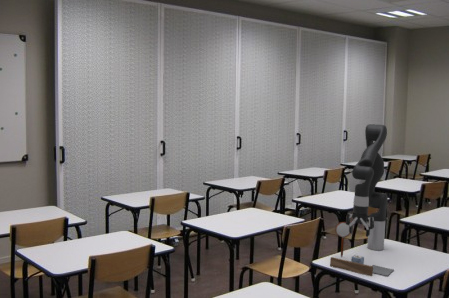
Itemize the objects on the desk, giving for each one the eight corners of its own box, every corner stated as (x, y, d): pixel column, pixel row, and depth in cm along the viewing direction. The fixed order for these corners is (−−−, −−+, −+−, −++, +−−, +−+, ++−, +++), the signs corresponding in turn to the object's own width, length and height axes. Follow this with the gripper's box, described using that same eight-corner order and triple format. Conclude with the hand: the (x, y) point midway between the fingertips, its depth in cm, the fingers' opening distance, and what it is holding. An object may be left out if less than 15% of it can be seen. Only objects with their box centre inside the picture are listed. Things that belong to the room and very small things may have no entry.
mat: (373, 265, 259) (373, 264, 259) (394, 270, 253) (394, 269, 253) (365, 271, 250) (365, 270, 250) (387, 276, 244) (387, 275, 244)
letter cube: (354, 263, 262) (355, 254, 261) (363, 265, 259) (364, 256, 258) (350, 266, 258) (351, 256, 257) (360, 268, 255) (360, 258, 254)
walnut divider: (331, 265, 258) (331, 257, 258) (372, 275, 245) (373, 266, 245) (330, 266, 257) (330, 257, 256) (371, 276, 244) (371, 267, 244)
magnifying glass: (334, 257, 271) (336, 222, 269) (333, 256, 273) (335, 221, 270) (349, 257, 271) (351, 222, 269) (349, 256, 273) (351, 221, 271)
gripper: (377, 205, 254) (375, 236, 255) (350, 201, 262) (348, 231, 264) (372, 207, 248) (370, 239, 249) (345, 203, 256) (343, 233, 258)
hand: (359, 234), depth 257 cm, fingers open, 8 cm apart
